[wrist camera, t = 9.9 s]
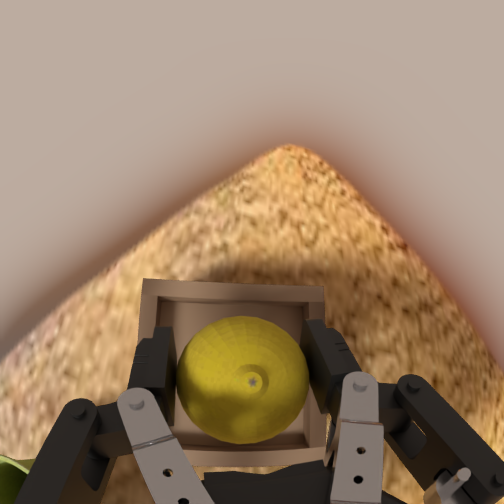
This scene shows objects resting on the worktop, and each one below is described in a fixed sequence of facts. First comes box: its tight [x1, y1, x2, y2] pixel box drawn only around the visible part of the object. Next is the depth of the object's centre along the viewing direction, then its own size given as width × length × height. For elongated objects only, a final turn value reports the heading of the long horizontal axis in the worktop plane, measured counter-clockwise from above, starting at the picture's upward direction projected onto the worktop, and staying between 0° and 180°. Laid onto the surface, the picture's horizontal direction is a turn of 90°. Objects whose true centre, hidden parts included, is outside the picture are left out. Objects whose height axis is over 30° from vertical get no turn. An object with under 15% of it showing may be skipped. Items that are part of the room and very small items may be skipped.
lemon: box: [175, 316, 309, 444], centre depth 13 cm, size 6×6×8 cm
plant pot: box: [0, 455, 35, 504], centre depth 14 cm, size 9×9×9 cm
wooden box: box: [137, 278, 327, 467], centre depth 21 cm, size 11×11×8 cm
